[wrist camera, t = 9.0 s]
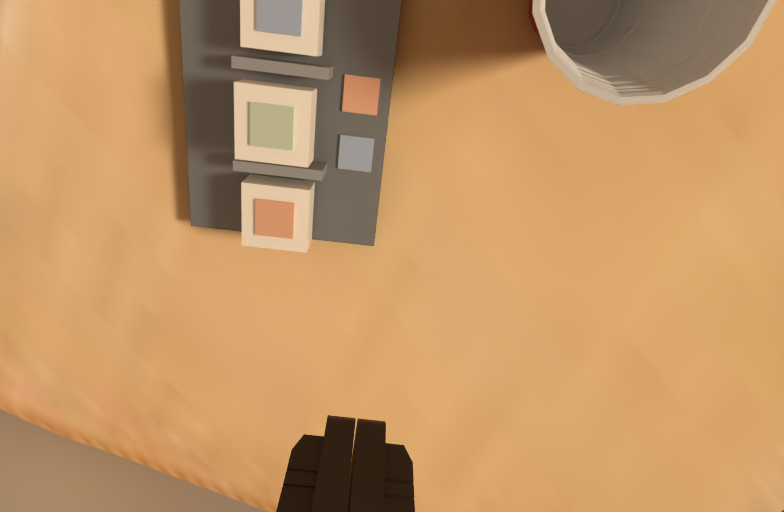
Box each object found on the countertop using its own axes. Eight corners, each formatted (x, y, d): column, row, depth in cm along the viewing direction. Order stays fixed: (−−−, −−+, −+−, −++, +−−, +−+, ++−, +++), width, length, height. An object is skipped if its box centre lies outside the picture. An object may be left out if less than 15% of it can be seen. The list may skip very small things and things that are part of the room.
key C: (256, 168, 36) (240, 183, 32) (318, 176, 36) (309, 191, 32) (255, 226, 38) (240, 246, 34) (314, 233, 38) (306, 253, 34)
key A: (257, -33, 31) (238, -43, 27) (329, -23, 31) (321, -32, 27) (256, 46, 32) (239, 46, 29) (325, 54, 33) (316, 56, 29)
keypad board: (186, -45, 31) (158, -57, 27) (403, -16, 32) (404, -23, 28) (198, 219, 38) (177, 237, 35) (374, 238, 39) (372, 259, 35)
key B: (251, 77, 32) (232, 82, 28) (320, 86, 32) (311, 91, 29) (251, 146, 34) (233, 159, 30) (316, 154, 34) (307, 168, 30)
